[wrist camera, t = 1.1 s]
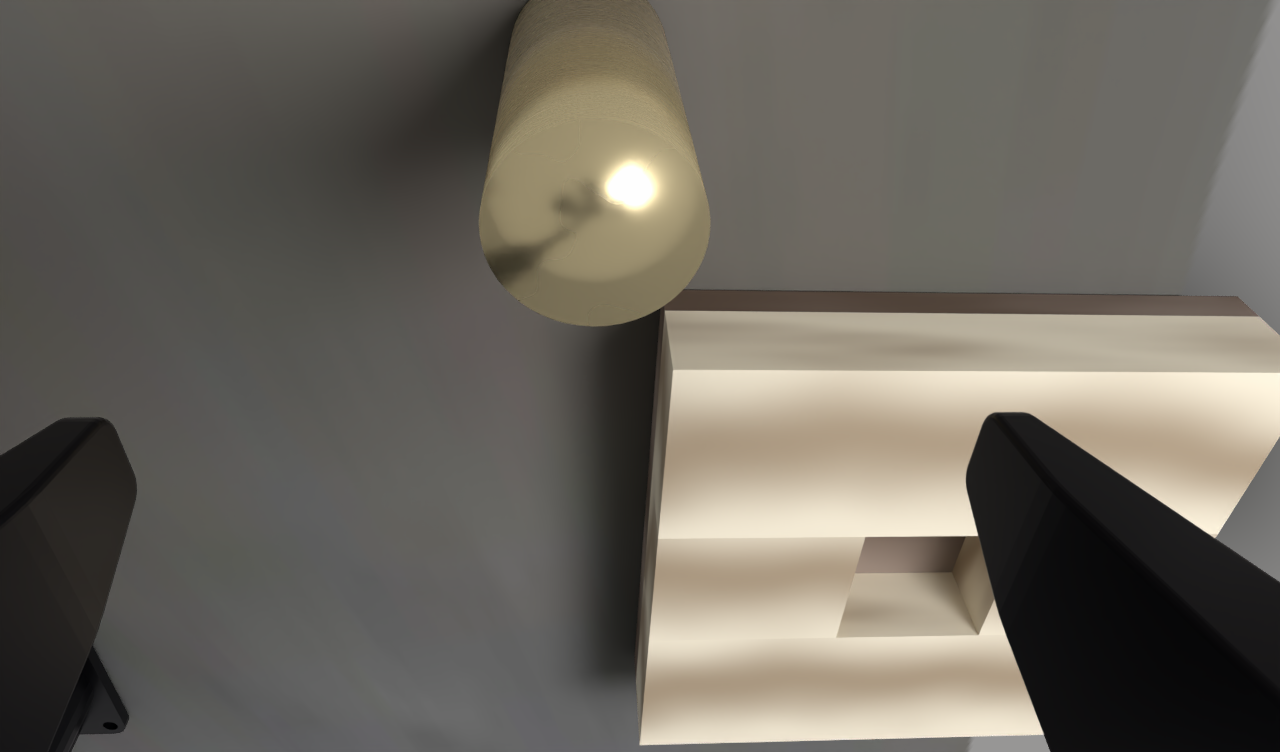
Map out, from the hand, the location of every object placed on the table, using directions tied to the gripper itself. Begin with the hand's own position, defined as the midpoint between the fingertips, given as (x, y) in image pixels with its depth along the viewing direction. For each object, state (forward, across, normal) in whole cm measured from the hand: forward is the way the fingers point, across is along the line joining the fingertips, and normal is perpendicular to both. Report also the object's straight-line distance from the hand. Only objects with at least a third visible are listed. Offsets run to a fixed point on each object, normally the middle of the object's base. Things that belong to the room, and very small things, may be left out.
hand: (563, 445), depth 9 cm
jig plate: (+13, -10, +14) cm, 22 cm away
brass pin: (+13, 0, 0) cm, 13 cm away
